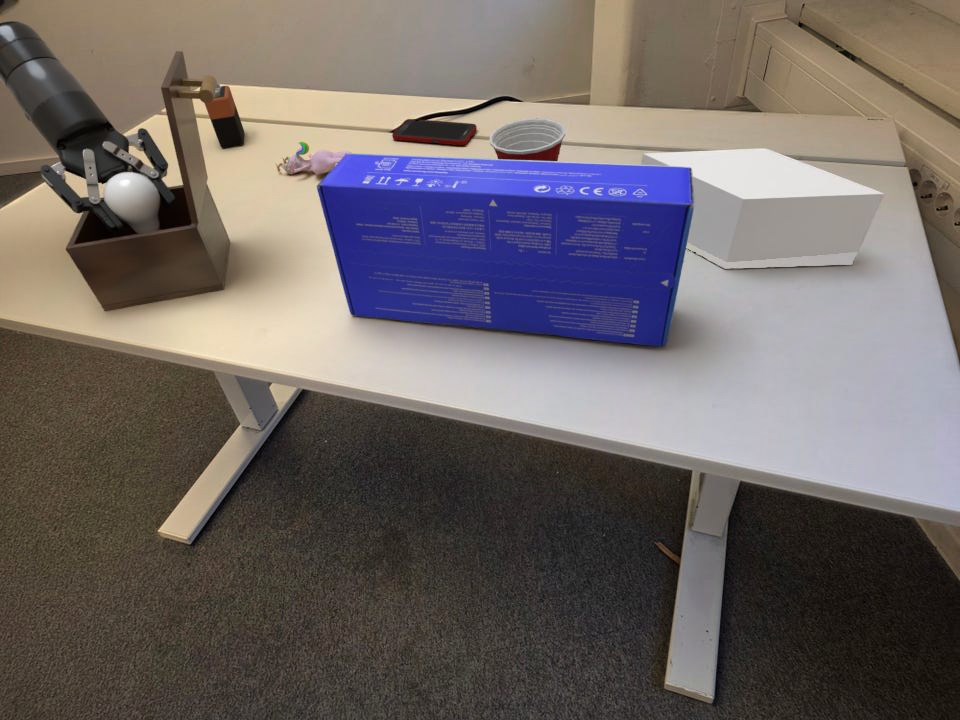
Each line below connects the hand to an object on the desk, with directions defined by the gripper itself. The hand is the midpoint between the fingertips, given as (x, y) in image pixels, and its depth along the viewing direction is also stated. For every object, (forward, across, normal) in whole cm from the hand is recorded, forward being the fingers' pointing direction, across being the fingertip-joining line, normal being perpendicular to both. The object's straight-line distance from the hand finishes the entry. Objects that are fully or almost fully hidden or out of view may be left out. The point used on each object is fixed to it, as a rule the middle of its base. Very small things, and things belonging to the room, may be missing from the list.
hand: (147, 218), depth 79 cm
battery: (-17, +31, +31) cm, 47 cm away
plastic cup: (+27, +43, -14) cm, 53 cm away
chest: (+6, 0, +8) cm, 10 cm away
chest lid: (-4, +7, -9) cm, 12 cm away
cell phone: (+6, +54, +8) cm, 55 cm away
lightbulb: (+3, 0, +5) cm, 6 cm away
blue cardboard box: (+37, +22, -23) cm, 48 cm away
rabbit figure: (+1, +32, +12) cm, 34 cm away
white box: (+48, +52, -34) cm, 79 cm away
